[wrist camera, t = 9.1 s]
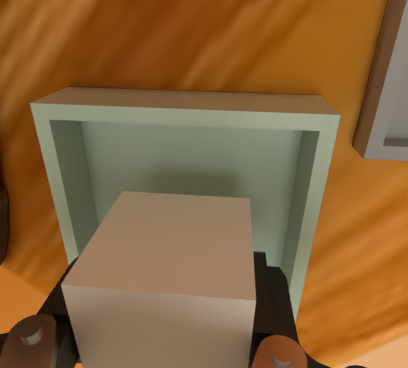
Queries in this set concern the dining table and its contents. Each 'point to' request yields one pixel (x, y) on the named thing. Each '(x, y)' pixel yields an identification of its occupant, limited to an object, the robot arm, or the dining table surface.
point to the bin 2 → (387, 92)
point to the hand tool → (3, 222)
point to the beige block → (165, 284)
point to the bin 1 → (191, 159)
